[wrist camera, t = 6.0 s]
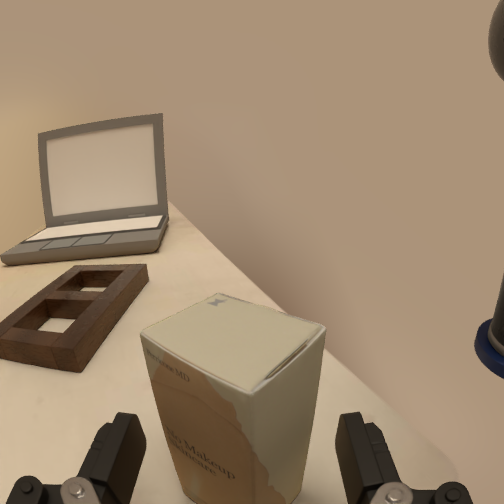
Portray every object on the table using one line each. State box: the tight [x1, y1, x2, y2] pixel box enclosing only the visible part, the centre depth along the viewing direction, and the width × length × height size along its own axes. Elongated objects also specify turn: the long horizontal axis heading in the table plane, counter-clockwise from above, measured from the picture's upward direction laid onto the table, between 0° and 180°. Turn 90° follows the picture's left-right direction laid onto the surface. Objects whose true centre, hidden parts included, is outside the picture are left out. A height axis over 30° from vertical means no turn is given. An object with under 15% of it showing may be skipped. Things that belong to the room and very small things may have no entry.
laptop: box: [0, 113, 169, 266], centre depth 63 cm, size 35×26×28 cm
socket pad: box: [0, 264, 149, 373], centre depth 34 cm, size 12×22×2 cm, turn 0°
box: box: [140, 293, 326, 504], centre depth 12 cm, size 5×4×11 cm
